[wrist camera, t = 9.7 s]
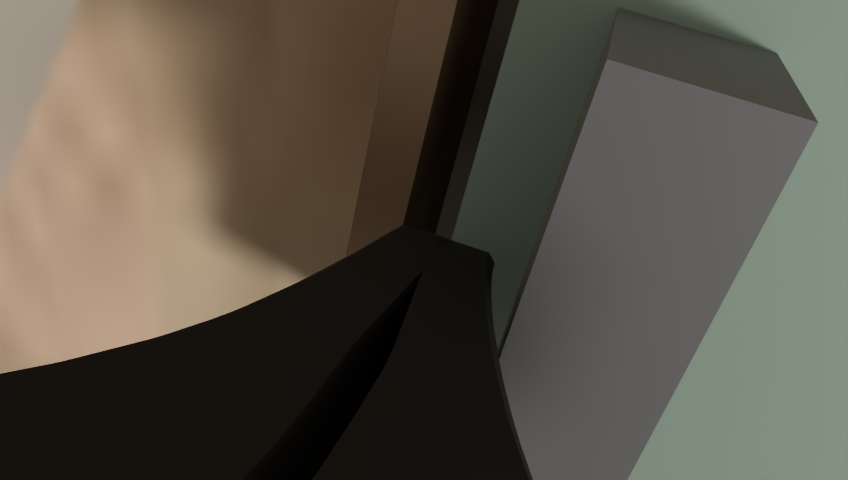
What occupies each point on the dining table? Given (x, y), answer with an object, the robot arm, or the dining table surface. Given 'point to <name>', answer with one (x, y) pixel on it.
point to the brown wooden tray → (430, 114)
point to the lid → (670, 237)
